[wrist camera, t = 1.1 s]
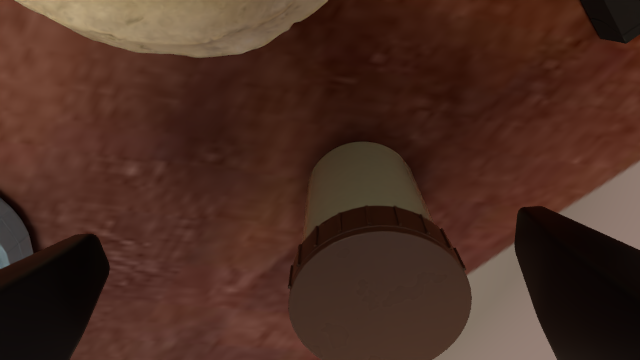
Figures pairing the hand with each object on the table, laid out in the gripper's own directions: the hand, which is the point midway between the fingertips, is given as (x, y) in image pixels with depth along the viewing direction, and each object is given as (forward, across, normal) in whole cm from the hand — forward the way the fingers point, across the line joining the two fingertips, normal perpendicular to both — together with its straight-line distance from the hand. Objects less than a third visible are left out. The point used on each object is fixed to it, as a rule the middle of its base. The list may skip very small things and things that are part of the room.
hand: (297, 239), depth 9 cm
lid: (+5, -2, +6) cm, 8 cm away
